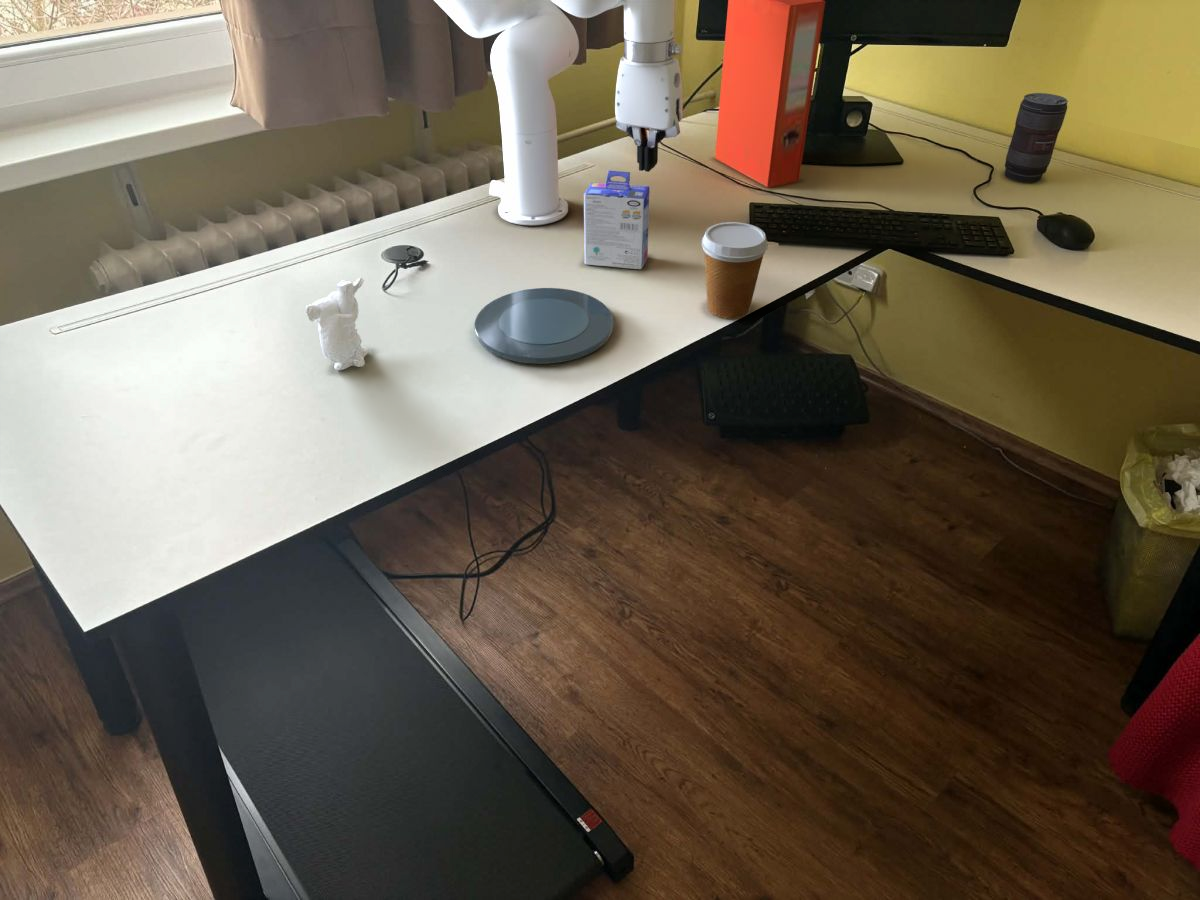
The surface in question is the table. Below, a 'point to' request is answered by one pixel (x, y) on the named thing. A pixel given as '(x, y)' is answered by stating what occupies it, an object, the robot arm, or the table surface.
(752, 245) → the disposable coffee cup
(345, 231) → the table surface
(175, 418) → the table surface
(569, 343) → the plate
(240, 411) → the table surface
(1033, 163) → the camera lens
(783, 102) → the file binder
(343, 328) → the white upright lumpy figure
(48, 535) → the table surface
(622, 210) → the ink cartridge box
